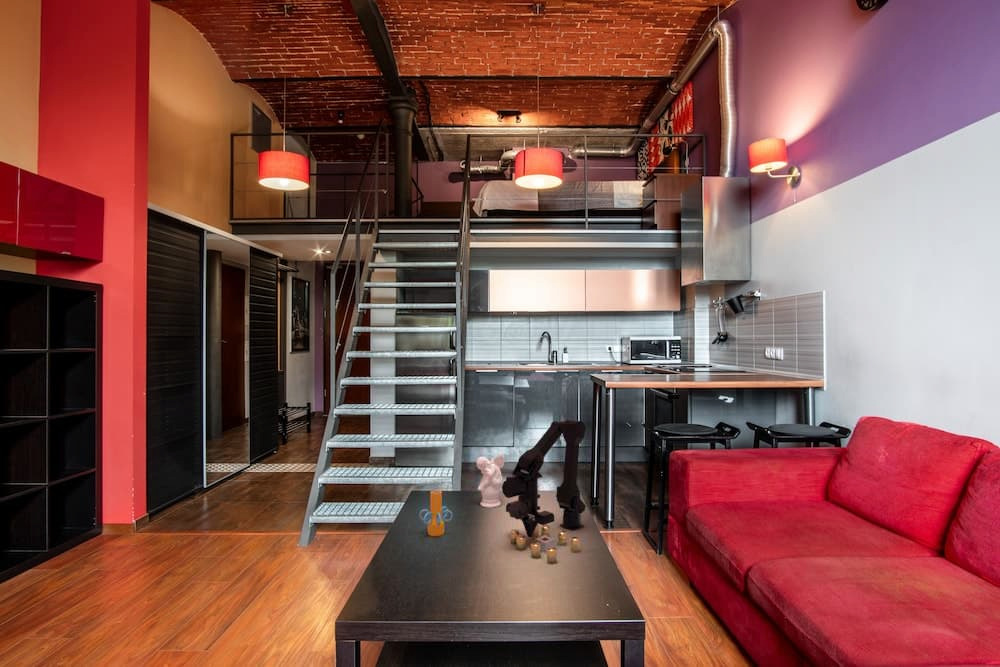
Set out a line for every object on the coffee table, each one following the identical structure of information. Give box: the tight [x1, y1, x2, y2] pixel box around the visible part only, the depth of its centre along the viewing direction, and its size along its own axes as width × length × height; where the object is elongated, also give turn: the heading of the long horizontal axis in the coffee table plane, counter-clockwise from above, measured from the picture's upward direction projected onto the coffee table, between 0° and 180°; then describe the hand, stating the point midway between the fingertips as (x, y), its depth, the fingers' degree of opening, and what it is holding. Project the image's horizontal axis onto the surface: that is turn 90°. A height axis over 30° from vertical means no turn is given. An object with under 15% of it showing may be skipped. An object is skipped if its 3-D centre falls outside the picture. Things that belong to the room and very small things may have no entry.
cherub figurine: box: [476, 453, 506, 509], centre depth 217 cm, size 12×12×22 cm
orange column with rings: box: [418, 489, 454, 537], centre depth 183 cm, size 12×10×15 cm
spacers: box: [510, 524, 581, 565], centre depth 171 cm, size 17×22×4 cm
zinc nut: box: [534, 535, 557, 554], centre depth 170 cm, size 5×5×3 cm
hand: (529, 537), depth 176 cm, fingers closed
